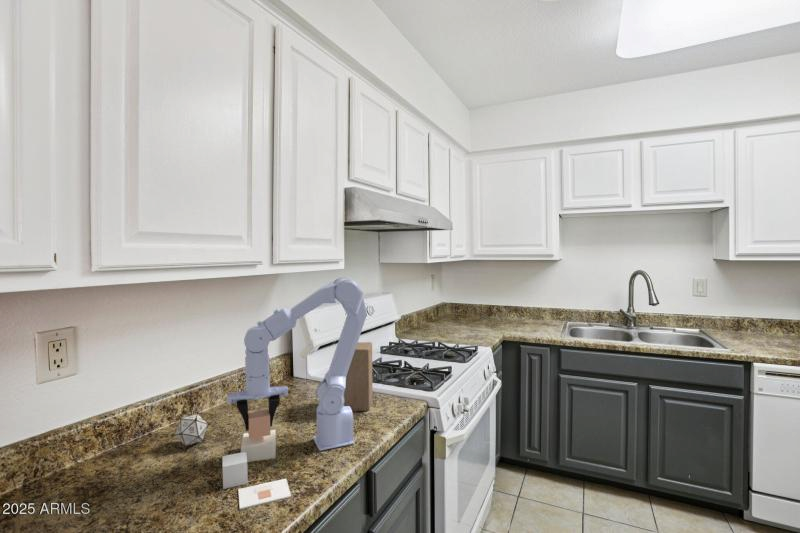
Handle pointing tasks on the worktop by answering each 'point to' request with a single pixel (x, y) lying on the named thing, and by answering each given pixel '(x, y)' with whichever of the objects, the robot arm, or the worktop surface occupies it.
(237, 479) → the white cube
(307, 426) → the worktop surface
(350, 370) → the wooden block
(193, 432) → the game die
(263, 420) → the terracotta cube
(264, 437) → the cream base block
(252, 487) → the card
